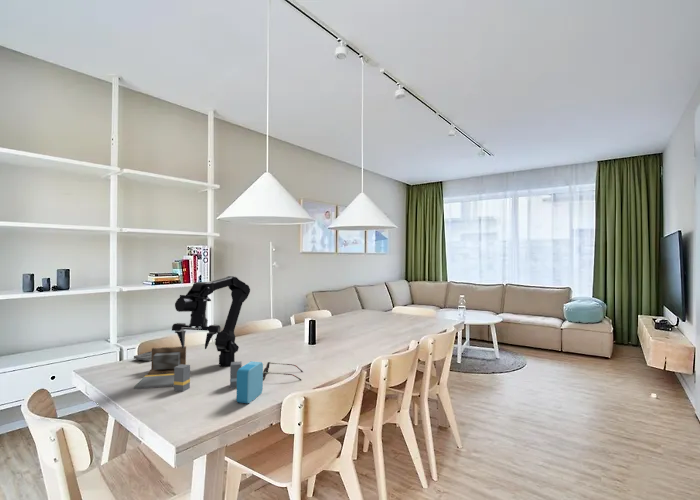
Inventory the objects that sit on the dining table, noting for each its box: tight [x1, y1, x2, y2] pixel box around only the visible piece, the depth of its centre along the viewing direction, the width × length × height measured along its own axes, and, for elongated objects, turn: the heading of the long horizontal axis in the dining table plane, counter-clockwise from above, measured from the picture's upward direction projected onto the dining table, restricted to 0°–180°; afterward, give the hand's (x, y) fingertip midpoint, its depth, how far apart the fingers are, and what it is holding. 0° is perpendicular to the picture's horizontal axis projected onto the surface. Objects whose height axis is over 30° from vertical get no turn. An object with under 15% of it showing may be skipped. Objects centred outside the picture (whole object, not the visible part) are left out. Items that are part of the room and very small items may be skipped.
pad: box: [133, 373, 174, 390], centre depth 151 cm, size 14×14×1 cm
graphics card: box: [133, 350, 152, 362], centre depth 186 cm, size 17×4×12 cm
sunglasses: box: [263, 361, 304, 381], centre depth 160 cm, size 14×16×5 cm
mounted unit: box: [147, 345, 187, 375], centre depth 165 cm, size 14×7×10 cm, turn 103°
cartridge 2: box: [229, 361, 243, 389], centre depth 147 cm, size 4×4×9 cm
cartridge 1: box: [173, 364, 191, 393], centre depth 143 cm, size 4×4×9 cm
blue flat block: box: [235, 361, 264, 404], centre depth 135 cm, size 12×4×12 cm, turn 168°
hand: (194, 348), depth 158 cm, fingers open, 9 cm apart
